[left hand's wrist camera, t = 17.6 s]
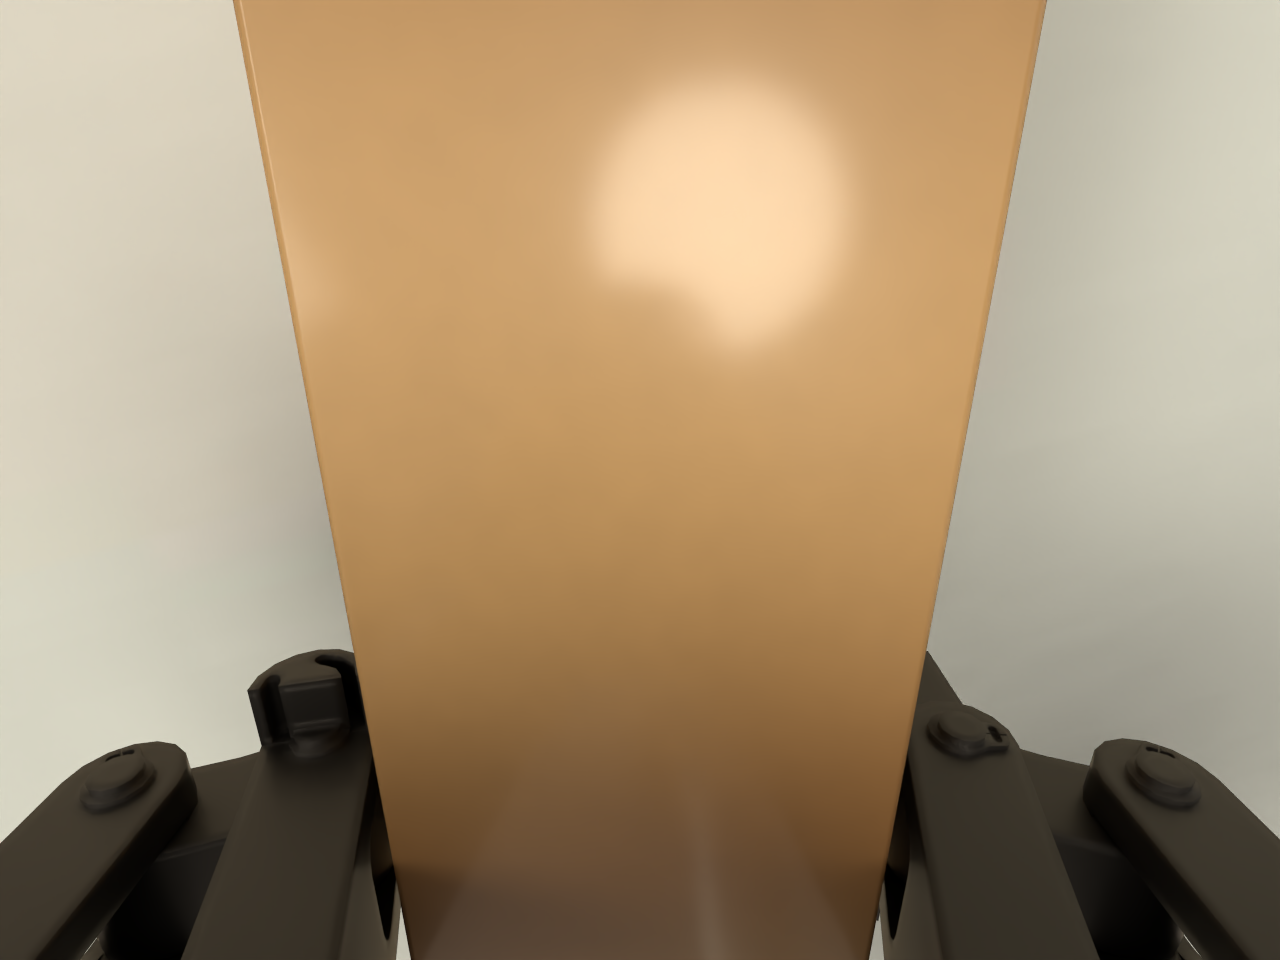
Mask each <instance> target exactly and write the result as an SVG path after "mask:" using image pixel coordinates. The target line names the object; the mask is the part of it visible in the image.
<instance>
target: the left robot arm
mask: <svg viewBox="0 0 1280 960" xmlns="http://www.w3.org/2000/svg"><path fill="white" fill-rule="evenodd" d="M247 691H248V695H249V699H250V703H251V707H252V710H253V714H254V718H255V722H256V726H257V730H258V734H259V737H260V741H261V745H262V747H261V749H260V752H257V753H254V754H250V755H247V756H244V757H240V758H236V759H231V760H227V761H223V762H218V763H214V764H209V765H205V766H201V767H196V768H192V769H191V768H190V765H189V762H188V758H187V755H186V753H185V752H184V751H183V750H182V749H180V748H179V747H178V746H177V745H176V744H171V743H165V742H159V741H156V742H148V743H140V744H134V745H131V746H128V747H124V748H122V749H118V750H115V751H112V752H109V753H107V754H105V755H103V756H101V757H100V758H98V759H96V760H94V761H92V762H90V763H88V764H86V765H84V766H83V767H81V768H80V769H79V770H78V771H76V772H75V773H74V774H73V775H71V776H70V777H69V778H67V779H66V780H65V781H64V782H62V783H61V784H60V785H59V786H58V787H57V788H56V789H55V790H54V791H53V792H52V793H51V794H50V795H49V796H48V797H47V798H46V799H45V800H44V801H43V802H42V803H41V804H40V805H39V806H38V807H37V808H36V809H35V810H34V811H33V812H32V813H31V814H30V815H29V816H28V817H27V818H26V819H25V820H24V821H23V822H22V823H21V824H20V825H19V826H18V827H17V828H16V829H15V830H14V831H13V832H11V833H10V834H9V835H8V836H7V837H6V838H5V839H4V840H3V841H2V842H1V843H0V960H396V953H397V942H398V931H399V920H400V909H401V903H400V898H399V892H398V887H397V881H396V876H395V871H394V865H393V860H392V854H391V849H390V844H389V838H388V833H387V828H386V822H385V817H384V811H383V806H382V801H381V795H380V790H379V784H378V779H377V774H376V768H375V763H374V757H373V752H372V747H371V741H370V736H369V730H368V725H367V720H366V714H365V709H364V704H363V698H362V693H361V687H360V682H359V677H358V671H357V666H356V660H355V655H354V653H352V652H348V651H344V650H340V649H329V650H315V651H311V652H307V653H302V654H298V655H295V656H293V657H290V658H288V659H286V660H284V661H281V662H279V663H277V664H275V665H273V666H272V667H271V668H269V669H268V670H266V671H265V672H264V673H262V674H261V675H259V676H258V677H257V678H256V680H255V681H254V682H253V684H252V685H251V686H250V688H249V689H248V690H247ZM879 914H880V918H881V929H882V940H883V951H884V960H1280V839H1279V838H1278V837H1277V836H1276V835H1275V834H1274V833H1273V832H1272V831H1271V830H1270V829H1269V828H1268V827H1267V826H1265V825H1264V824H1263V823H1262V822H1261V821H1260V820H1259V819H1258V818H1257V817H1256V816H1255V815H1254V814H1253V813H1252V812H1251V811H1250V810H1249V809H1248V808H1247V807H1246V806H1245V805H1244V804H1243V803H1242V802H1241V801H1240V800H1239V799H1238V798H1237V797H1236V796H1235V795H1234V794H1233V793H1232V792H1231V791H1230V790H1229V789H1228V788H1227V787H1226V786H1225V785H1224V784H1223V783H1222V782H1221V781H1220V780H1218V779H1217V778H1216V777H1215V776H1213V775H1212V774H1211V773H1209V772H1208V771H1207V770H1206V769H1204V768H1203V767H1202V766H1200V765H1199V764H1198V763H1196V762H1194V761H1192V760H1190V759H1189V758H1187V757H1185V756H1183V755H1181V754H1179V753H1177V752H1175V751H1173V750H1171V749H1168V748H1165V747H1162V746H1159V745H1156V744H1153V743H1150V742H1147V741H1140V740H1131V739H1123V738H1122V739H1116V740H1110V741H1105V742H1104V743H1102V744H1101V745H1100V746H1099V747H1098V748H1097V749H1095V750H1094V754H1093V757H1092V760H1091V763H1090V766H1087V765H1083V764H1078V763H1074V762H1070V761H1065V760H1061V759H1056V758H1052V757H1047V756H1043V755H1039V754H1036V753H1032V752H1029V751H1025V750H1022V749H1020V748H1019V745H1018V744H1017V742H1016V741H1015V739H1014V738H1013V736H1012V735H1011V733H1010V732H1009V730H1008V729H1007V728H1005V727H1004V726H1003V725H1002V724H1000V723H999V722H998V721H997V720H995V719H994V718H993V717H992V716H989V715H987V714H985V713H983V712H981V711H979V710H977V709H975V708H973V707H970V706H967V705H963V704H962V703H961V701H960V700H959V698H958V697H957V695H956V694H955V692H954V691H953V689H952V687H951V686H950V684H949V683H948V681H947V680H946V678H945V677H944V675H943V674H942V672H941V671H940V669H939V667H938V666H937V664H936V663H935V661H934V660H933V658H932V657H931V655H930V654H929V652H928V651H926V654H925V659H924V665H923V670H922V676H921V681H920V686H919V692H918V697H917V702H916V708H915V713H914V719H913V724H912V729H911V735H910V740H909V746H908V751H907V756H906V762H905V767H904V773H903V778H902V783H901V789H900V794H899V799H898V805H897V810H896V816H895V821H894V826H893V832H892V837H891V843H890V848H889V853H888V859H887V864H886V870H885V875H884V880H883V886H882V891H881V896H880V902H879V907H878V913H877V918H876V920H877V921H878V919H879ZM1184 935H1185V936H1186V937H1187V939H1188V940H1189V941H1190V943H1191V944H1192V945H1193V947H1194V948H1195V949H1196V951H1197V952H1198V953H1199V954H1200V955H1199V954H1198V953H1197V952H1196V951H1195V950H1194V949H1193V947H1192V946H1191V945H1190V943H1189V942H1188V941H1187V939H1186V938H1185V937H1184ZM96 938H97V939H96ZM95 939H96V940H95ZM94 940H95V941H94ZM93 942H94V943H93ZM92 943H93V944H92ZM91 944H92V945H91ZM90 946H91V947H90ZM89 947H90V948H89ZM88 948H89V949H88ZM87 950H88V951H87ZM86 951H87V952H86ZM85 952H86V953H85Z"/></svg>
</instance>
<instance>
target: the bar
mask: <svg viewBox="0 0 1280 960" xmlns="http://www.w3.org/2000/svg"><path fill="white" fill-rule="evenodd" d="M1046 2H1047V0H233V3H234V8H235V14H236V19H237V25H238V30H239V35H240V41H241V46H242V51H243V57H244V62H245V68H246V73H247V78H248V84H249V89H250V95H251V100H252V105H253V111H254V116H255V122H256V127H257V132H258V138H259V143H260V148H261V154H262V159H263V165H264V170H265V175H266V181H267V186H268V192H269V197H270V202H271V208H272V213H273V219H274V224H275V229H276V235H277V240H278V245H279V251H280V256H281V262H282V267H283V272H284V278H285V283H286V289H287V294H288V299H289V305H290V310H291V316H292V321H293V326H294V332H295V337H296V342H297V348H298V353H299V359H300V364H301V369H302V375H303V380H304V386H305V391H306V396H307V402H308V407H309V413H310V418H311V423H312V429H313V434H314V439H315V445H316V450H317V456H318V461H319V466H320V472H321V477H322V483H323V488H324V493H325V499H326V504H327V510H328V515H329V520H330V526H331V531H332V536H333V542H334V547H335V553H336V558H337V563H338V569H339V574H340V580H341V585H342V590H343V596H344V601H345V607H346V612H347V617H348V623H349V628H350V633H351V639H352V644H353V650H354V655H355V660H356V666H357V671H358V677H359V682H360V687H361V693H362V698H363V704H364V709H365V714H366V720H367V725H368V730H369V736H370V741H371V747H372V752H373V757H374V763H375V768H376V774H377V779H378V784H379V790H380V795H381V801H382V806H383V811H384V817H385V822H386V828H387V833H388V838H389V844H390V849H391V854H392V860H393V865H394V871H395V876H396V881H397V887H398V892H399V898H400V903H401V908H402V914H403V919H404V925H405V930H406V935H407V941H408V946H409V951H410V957H411V960H869V956H870V950H871V945H872V940H873V934H874V929H875V923H876V918H877V913H878V907H879V902H880V896H881V891H882V886H883V880H884V875H885V870H886V864H887V859H888V853H889V848H890V843H891V837H892V832H893V826H894V821H895V816H896V810H897V805H898V799H899V794H900V789H901V783H902V778H903V773H904V767H905V762H906V756H907V751H908V746H909V740H910V735H911V729H912V724H913V719H914V713H915V708H916V702H917V697H918V692H919V686H920V681H921V676H922V670H923V665H924V659H925V654H926V649H927V643H928V638H929V632H930V627H931V622H932V616H933V611H934V605H935V600H936V595H937V589H938V584H939V579H940V573H941V568H942V562H943V557H944V552H945V546H946V541H947V535H948V530H949V525H950V519H951V514H952V508H953V503H954V498H955V492H956V487H957V482H958V476H959V471H960V465H961V460H962V455H963V449H964V444H965V438H966V433H967V428H968V422H969V417H970V411H971V406H972V401H973V395H974V390H975V385H976V379H977V374H978V368H979V363H980V358H981V352H982V347H983V341H984V336H985V331H986V325H987V320H988V314H989V309H990V304H991V298H992V293H993V288H994V282H995V277H996V271H997V266H998V261H999V255H1000V250H1001V244H1002V239H1003V234H1004V228H1005V223H1006V217H1007V212H1008V207H1009V201H1010V196H1011V191H1012V185H1013V180H1014V174H1015V169H1016V164H1017V158H1018V153H1019V147H1020V142H1021V137H1022V131H1023V126H1024V120H1025V115H1026V110H1027V104H1028V99H1029V94H1030V88H1031V83H1032V77H1033V72H1034V67H1035V61H1036V56H1037V50H1038V45H1039V40H1040V34H1041V29H1042V23H1043V18H1044V13H1045V7H1046Z"/></svg>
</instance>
